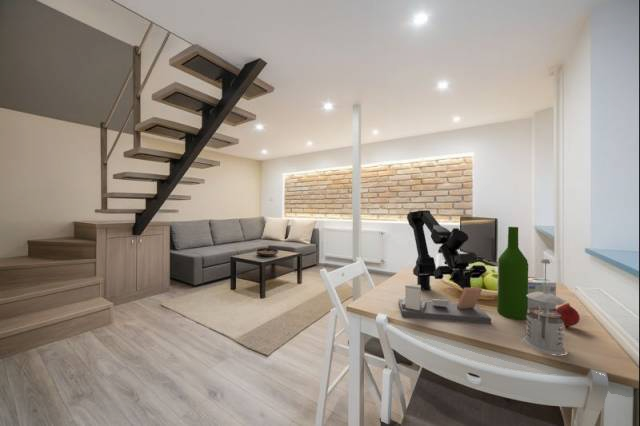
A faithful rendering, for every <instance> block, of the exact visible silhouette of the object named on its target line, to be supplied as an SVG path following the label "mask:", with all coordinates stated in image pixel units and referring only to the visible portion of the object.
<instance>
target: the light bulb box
mask: <svg viewBox="0 0 640 426" xmlns="http://www.w3.org/2000/svg"><path fill="white" fill-rule="evenodd" d="M544 291H545V277H536V278H528V294H529V293H532V292H544ZM546 293H550V294H552V295H555V296H557V282H556V281H552V280H550V279H546ZM539 306H540V308H543V309H544V303H539V302H536V301H533V300H530V299H529V298H528V309H529V308H533V307H537V308H539ZM556 306H557V305H550V304H545V309H547V308H548V309H549V310H554V309H557V307H556Z"/></svg>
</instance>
